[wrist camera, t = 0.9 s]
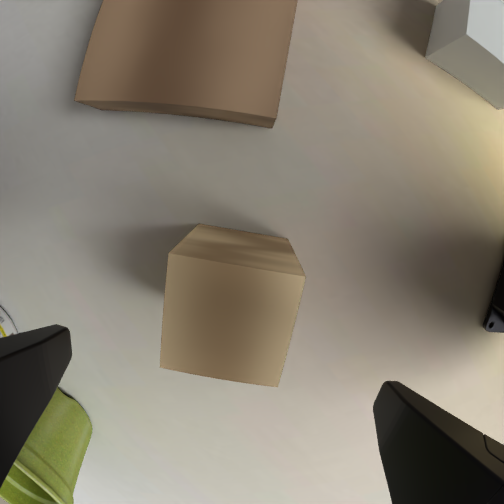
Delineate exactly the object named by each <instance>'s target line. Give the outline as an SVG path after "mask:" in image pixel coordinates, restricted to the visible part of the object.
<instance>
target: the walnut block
mask: <svg viewBox="0 0 504 504" xmlns="http://www.w3.org/2000/svg"><path fill="white" fill-rule="evenodd" d="M296 6H297V0H103V2H102V5H101V8H100V10H99V13H98V16H97V19H96V22H95V25H94V28H93V31H92V34H91V37H90V40H89V44H88V47H87V51H86V54H85V58H84V61H83V65H82V69H81V73H80V77H79V81H78V85H77V90H76V94H75V99H74V101H77V102H80V103H83V104H86V105H89V106H92V107H94V108H97V109H100V110H113V111H134V112H149V113H162V114H173V115H183V116H192V117H201V118H209V119H216V120H224V121H231V122H237V123H244V124H250V125H256V126H262V127H268V128H272V127H273V125H274V123H275V120H276V117H277V112H278V106H279V101H280V95H281V89H282V84H283V78H284V73H285V67H286V62H287V56H288V50H289V45H290V39H291V34H292V28H293V23H294V17H295V11H296Z"/></svg>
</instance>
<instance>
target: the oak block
mask: <svg viewBox="0 0 504 504" xmlns="http://www.w3.org/2000/svg"><path fill="white" fill-rule="evenodd" d="M305 279H306V276H305V274H304V272H303V269H302V267H301V265H300V263H299V261H298V259H297V257H296V255H295V253H294V251H293V248H292V246H291V244H290V242H289V240H288V239H285V238H279V237H274V236H268V235H262V234H256V233H251V232H245V231H239V230H233V229H227V228H221V227H215V226H209V225H203V224H198V225H197V226H196V227H195V228H194V229H193V230H192V231H191V232H190V233H189V234H188V235H187V236H186V237H185V238H184V239H183V240H182V241H181V242H179V243H178V244H177V245H176V246H175V247H174V248H173V249H172V250H171V251H170V252H169V254H168V264H167V274H166V284H165V296H164V308H163V322H162V337H161V355H160V367H161V368H165V369H170V370H175V371H180V372H184V373H189V374H195V375H200V376H205V377H211V378H217V379H223V380H229V381H235V382H242V383H249V384H256V385H264V386H272V387H278V384H279V381H280V377H281V373H282V370H283V366H284V362H285V359H286V355H287V351H288V347H289V344H290V340H291V336H292V332H293V328H294V324H295V320H296V316H297V312H298V308H299V304H300V300H301V296H302V292H303V287H304V283H305Z"/></svg>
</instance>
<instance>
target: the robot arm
mask: <svg viewBox="0 0 504 504" xmlns="http://www.w3.org/2000/svg"><path fill="white" fill-rule="evenodd" d="M489 324H490V325H489ZM483 328H484V329H485V330H486V331H488V332H501V333H504V262H503V266H502V269H501V273H500V276H499V280H498V283H497V286H496V289H495V292H494V295H493V298H492V301H491V304H490V307H489V310H488V312H487V315H486V318H485V320H484V323H483ZM71 357H72V348H71V338H70V331H69V329H68V328H67V327H64V326H61V325H57V324H56V325H51V326H47V327H43V328H39V329H35V330H31V331H27V332H23V333H19V334H14V335H10V336H6V337H2V338H0V488H1V486H2V484H3V482H4V481H5V479H6V477H7V475H8V473H9V471H10V469H11V467H12V466H13V464H14V462H15V460H16V458H17V456H18V455H19V453H20V451H21V449H22V448H23V446H24V444H25V442H26V441H27V439H28V437H29V435H30V434H31V432H32V430H33V429H34V427H35V425H36V424H37V422H38V420H39V419H40V417H41V415H42V414H43V412H44V410H45V409H46V407H47V405H48V404H49V402H50V400H51V399H52V397H53V395H54V393H55V391H56V389H57V387H58V385H59V383H60V380H61V378H62V376H63V374H64V372H65V370H66V368H67V366H68V364H69V362H70V360H71ZM373 413H374V419H375V425H376V432H377V439H378V446H379V452H380V456H381V460H382V464H383V468H384V472H385V476H386V480H387V484H388V488H389V492H390V496H391V500H392V504H504V445H503V444H501V443H499V442H497V441H495V440H494V439H492V438H490V437H489V436H487V435H485V434H484V435H483V433H482V432H480V431H478V430H477V429H475V428H473V427H472V426H470V425H468V424H467V423H465V422H463V421H462V420H460V419H458V418H457V417H455V416H453V415H452V414H450V413H448V412H447V411H445V410H443V409H442V408H440V407H439V406H437V405H435V404H434V403H432V402H430V401H429V400H427V399H426V398H424V397H422V396H421V395H419V394H418V393H416V392H414V391H413V390H411V389H410V388H408V387H406V386H405V385H403V384H402V383H400V382H398V381H386V382H384V383H383V385H382V387H381V389H380V391H379V393H378V395H377V398H376V400H375V402H374V405H373Z"/></svg>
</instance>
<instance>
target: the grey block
mask: <svg viewBox="0 0 504 504" xmlns="http://www.w3.org/2000/svg"><path fill="white" fill-rule="evenodd" d="M425 58H426V59H427V60H429V61H430V62H432V63H434V64H435V65H437V66H438V67H440V68H442V69H443V70H445V71H446V72H448V73H449V74H451V75H452V76H454V77H455V78H457V79H458V80H459V81H461V82H462V83H464V84H465V85H466V86H468V87H469V88H471V89H472V90H473V91H475V92H476V93H477V94H479V95H480V96H481V97H483V98H484V99H485V100H486V101H488V102H489V103H490V104H492V105H493V106H494V107H495V108H496V109H498V110H499V109H504V3H503V2H502V1H501V0H443V1H441V2H440V3H439V4H438V5H437V6H436V8H435V14H434V19H433V24H432V28H431V33H430V38H429V42H428V46H427V51H426V55H425Z"/></svg>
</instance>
